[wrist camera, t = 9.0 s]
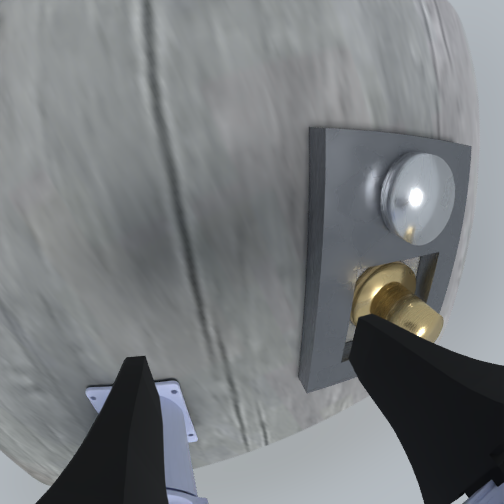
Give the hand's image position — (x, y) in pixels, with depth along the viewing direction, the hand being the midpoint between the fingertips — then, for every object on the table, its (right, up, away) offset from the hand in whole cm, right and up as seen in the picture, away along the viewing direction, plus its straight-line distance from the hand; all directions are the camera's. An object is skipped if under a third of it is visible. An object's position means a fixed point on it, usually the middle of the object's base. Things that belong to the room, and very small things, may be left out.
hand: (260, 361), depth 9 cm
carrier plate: (+10, +3, +12) cm, 16 cm away
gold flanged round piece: (+10, 0, +14) cm, 17 cm away
